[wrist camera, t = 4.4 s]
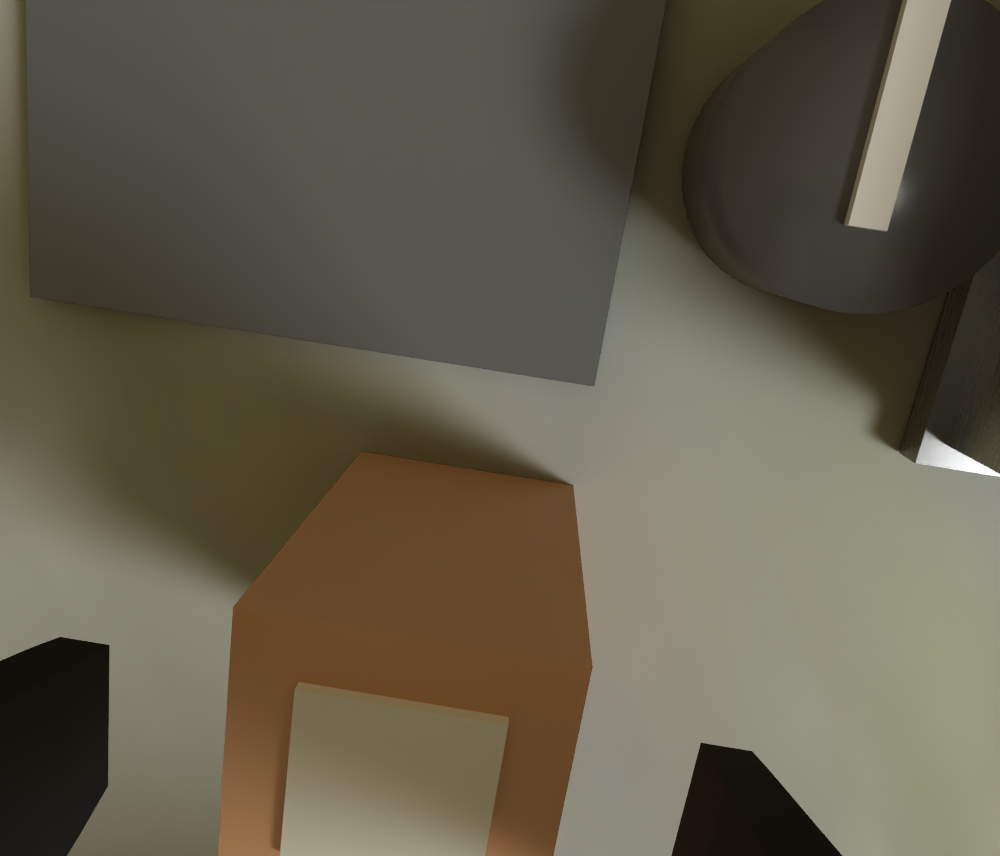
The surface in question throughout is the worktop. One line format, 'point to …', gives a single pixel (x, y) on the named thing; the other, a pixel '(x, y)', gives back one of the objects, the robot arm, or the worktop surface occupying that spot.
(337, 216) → the rubber mat
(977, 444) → the junction box
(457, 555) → the block
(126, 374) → the worktop surface
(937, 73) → the black knob
